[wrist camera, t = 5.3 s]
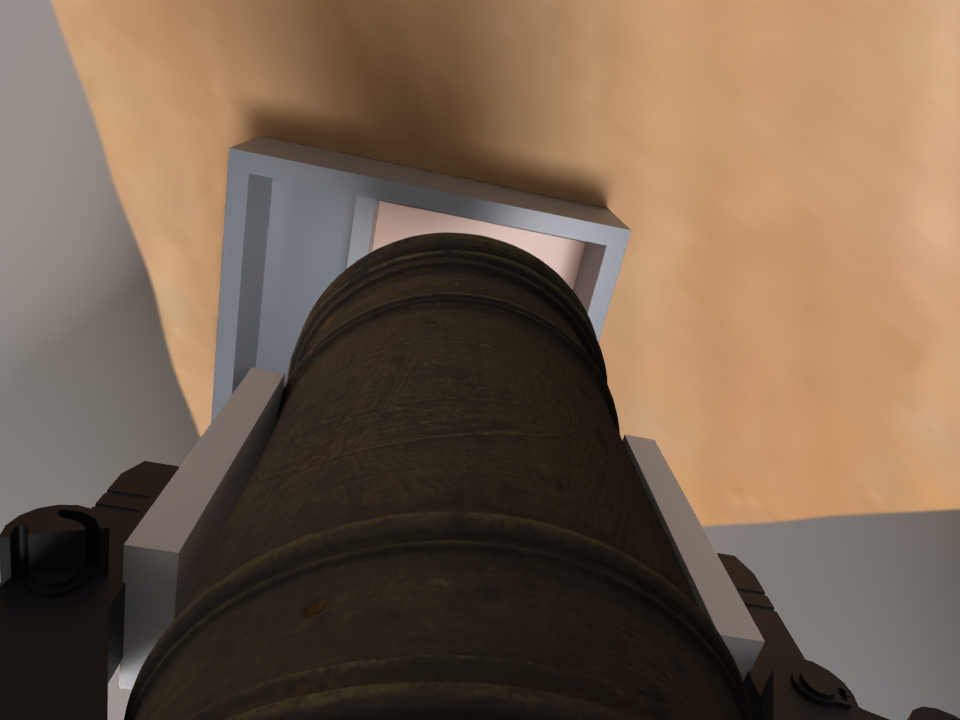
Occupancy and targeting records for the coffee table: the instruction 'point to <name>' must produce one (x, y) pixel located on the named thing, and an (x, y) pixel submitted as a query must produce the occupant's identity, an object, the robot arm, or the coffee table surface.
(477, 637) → the container
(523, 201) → the walled box
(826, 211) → the coffee table surface
